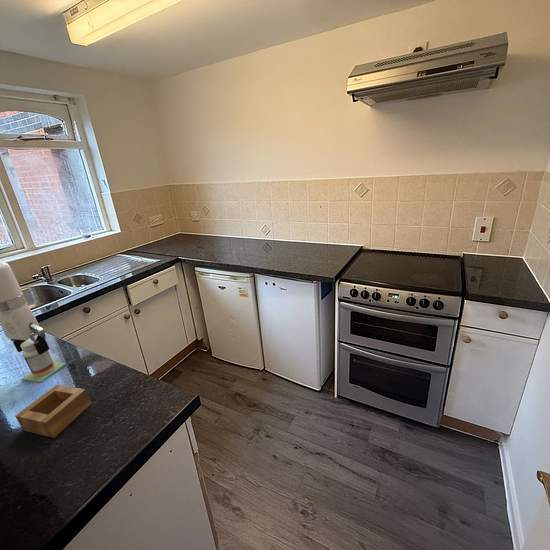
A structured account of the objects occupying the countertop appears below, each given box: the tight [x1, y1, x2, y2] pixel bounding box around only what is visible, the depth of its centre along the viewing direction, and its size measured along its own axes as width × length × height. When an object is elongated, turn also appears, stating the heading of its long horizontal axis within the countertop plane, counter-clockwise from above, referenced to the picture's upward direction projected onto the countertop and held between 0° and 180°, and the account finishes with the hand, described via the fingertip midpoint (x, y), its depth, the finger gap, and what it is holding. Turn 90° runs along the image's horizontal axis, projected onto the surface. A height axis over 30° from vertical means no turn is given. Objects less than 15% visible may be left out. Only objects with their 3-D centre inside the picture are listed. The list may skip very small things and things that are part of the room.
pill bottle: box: [20, 338, 55, 376], centre depth 97 cm, size 6×6×11 cm
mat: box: [21, 361, 68, 384], centre depth 99 cm, size 9×9×1 cm
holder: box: [14, 384, 93, 439], centre depth 78 cm, size 11×11×5 cm
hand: (33, 350), depth 96 cm, fingers open, 9 cm apart
